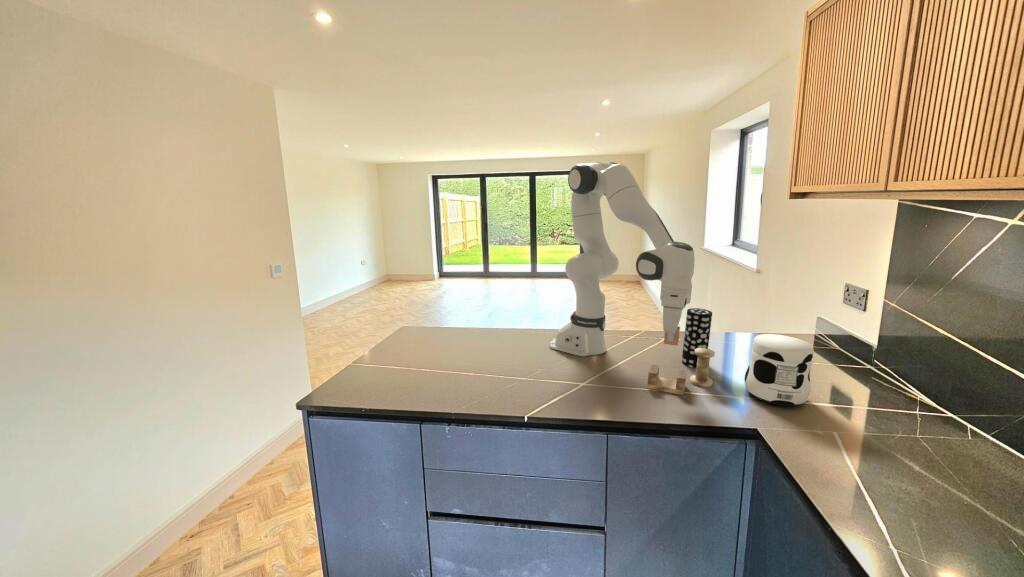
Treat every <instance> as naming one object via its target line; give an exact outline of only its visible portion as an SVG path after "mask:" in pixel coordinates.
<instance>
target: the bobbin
mask: <svg viewBox="0 0 1024 577" xmlns="http://www.w3.org/2000/svg"><path fill="white" fill-rule="evenodd" d="M694 353H695V354H696V355H698V360H697V368H695V369H696V370H695V374H693V375H691V376H689V383H691V384H692V385H694V386H697V387H701V388H709V387H712V386H713V384H714V383H713V379H712V378H710V377H709V370H710V369H709V367H710V363H711V362H710V360H711V358H714V357H715V351H714V350H713V349H710V348H708V349H706V348H696V349H695V352H694Z"/></svg>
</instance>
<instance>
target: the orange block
mask: <svg viewBox="0 0 1024 577" xmlns="http://www.w3.org/2000/svg"><path fill="white" fill-rule="evenodd" d="M680 330H681V327H680V326H678V328H677V331H676V333H674V340H673V341H668V340H667V336H668V334H667V332H664V339H663V344H664V345H670V346H678V345H679V338H680Z"/></svg>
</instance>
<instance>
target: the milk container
mask: <svg viewBox="0 0 1024 577" xmlns="http://www.w3.org/2000/svg"><path fill="white" fill-rule="evenodd" d="M814 350H815V349H814V347H813V345H812V343H810V342H807V341H806V340H803V339H800V338H797V337H792V336H790V335H789V336H787V335H783V334H775V333H765V334H758V335H756V336H755V337H754V339H753V342H752V349H751V353H750V362H749V365H748V367H747V369H746V371H745V374H744V386H745V389H746V391H747V392H748V393H749V394H751V395H752V396H753V397H755V398H756V399H759V400H761V401H764V402H766V403H769V404H773V405H778V406H786V407H792V406H793V407H795V406H799V405H803V404H804V403H806V402H807V400H808V399H809V397H810V394H811V390H812V385H811V379H810V373H811V369H812V365H813V358H814Z"/></svg>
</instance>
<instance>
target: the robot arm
mask: <svg viewBox="0 0 1024 577" xmlns="http://www.w3.org/2000/svg"><path fill="white" fill-rule="evenodd" d="M567 182H568V184H567V185H568V186H569V187H568V188H569V189H570V190H571V191H572V194H571V202H570V203H571V204H570V206H571V207H570V208H571V209H570V211H571V218H572V229H573V230H572V231H573V236H574V239H575V240H576V242H578V243H579V244H580V246H581V247H582V250H583V252H584V253H578V254H576V255H574V256H572V257H570V258H568V260H567V261H566V263H565V275H566V276H567V279H568V280H570V281H571V282H572V284H573V287H574V290H575V301H576V304H575V306H576V307H575V310H574V311H572V314H571V315H570V317H569V320H570V321H569V322H568V323H566V324H565V325H563V326H562V327H560V329H559V330H558V331H557V332H556V336H555V338H553V339H552V340H551V341H550V342H549V348H550V349H551V350H557V351H560V352H564V353H567V354H571V355H575V356H579V357H587V356H597V355H602V354H604V353H606V351H607V345H606V340H605V329H606V315H605V312H606V311H605V309H606V296H605V294H604V292H602V291H601V287H600V280H603V279H606V278H609V277H611V276H612V275H614V274H615V273H616V272H617V270H618V268H619V259H618V257H617V255H616V254H615V253H614V252H613V251H612V249H611V248H610V246H609V243H608V241H607V238H606V236H605V235H606V234H605V232H604V224H603V218H602V217H603V216H602V208H601V198H602V197H603V196H605V197H606V200H607V203H608V205H609V208H610V210H611V212H612V213H613V215H614V216H615V217H616V218H617V219H618V220H620V221H622V222H624V223H628V224H630V225H634V226H637V227H638V228H640V229H642V230H643V232H645V233H646V235H647V236H648V237H649V239H650V241H651V242H652V245H653V247H654V248H655V249H654V248H653V249H651V250H646V251H643V252H641V253H640V254H639V255H638V256H637V258H636V262H635V270H636V272H637V274H638V276H639V277H640V278H641V279H643V280H644V281H650V282H651V281H660V282H661V285H660V293H659V294H660V297H659V299H660V301H661V302H660V304H661V307H662V330H663V332H664V333H665V332H667V334H668V336H667V340H668V341H673V340H674V333H676V331H677V328H678V327H679V324H680V320H681V318H682V313H683V311H684V309H685V308H686V306H687V305H688V304H690V303H691V300H692V292H693V291H692V289H693V284H692V278H693V276H694V273H695V272H694V271H695V262H696V261H695V260H696V259H695V251H694V250H695V249H694V247H692V246H691V245H690V244H688V243H685V242H680V241H675V240H674V239H673V237H672V235H671V234H670V232H669V230H668V228H667V227H666V226H665V224H664V222H663V221H662V218H661V217H660V215H659V214H658V213H657V212H656V210H655V209H654V208H653V207H652V206H651V205H650V203H649V202H648V201H647V199H646V197H645V195H644V193H643V192H642V190H641V188H640V186H639V184H638V182H637V180H636V178H635V177H634V175H633V173H632V172H631V171H630V168H628V167H627V166H626V165H624V164H622V163H617V162H612V161H611V162H606V161H596V162H589V163H579V164H576V165H574V166H572V167H571V169H570V170H569V172H568V175H567Z"/></svg>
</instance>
